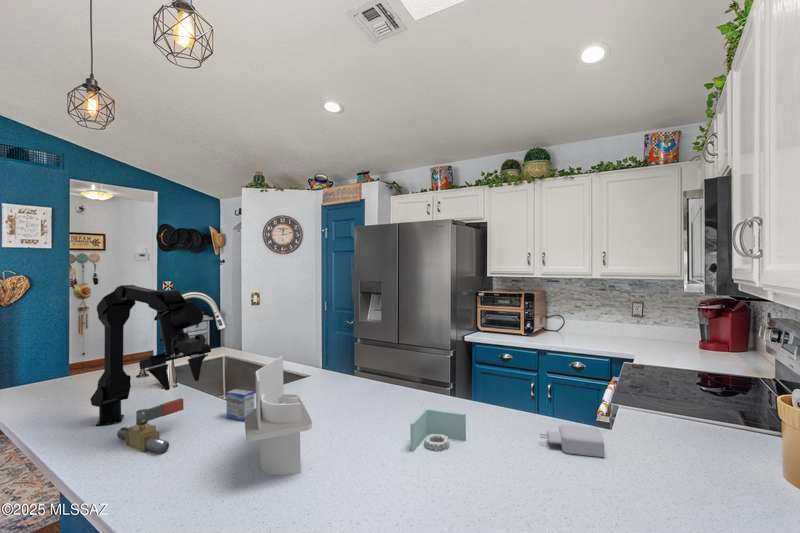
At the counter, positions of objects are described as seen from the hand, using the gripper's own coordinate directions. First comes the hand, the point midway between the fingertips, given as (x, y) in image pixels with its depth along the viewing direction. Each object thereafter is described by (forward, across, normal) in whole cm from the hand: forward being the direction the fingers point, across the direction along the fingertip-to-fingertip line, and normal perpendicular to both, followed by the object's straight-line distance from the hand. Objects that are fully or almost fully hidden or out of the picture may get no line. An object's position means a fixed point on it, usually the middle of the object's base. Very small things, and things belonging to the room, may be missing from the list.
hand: (183, 385), depth 114 cm
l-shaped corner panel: (+33, +24, -63) cm, 75 cm away
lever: (+7, -2, +9) cm, 12 cm away
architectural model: (+24, +2, -28) cm, 37 cm away
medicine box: (+16, +18, +1) cm, 24 cm away
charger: (+41, +36, -94) cm, 109 cm away
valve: (+13, -7, +11) cm, 18 cm away
